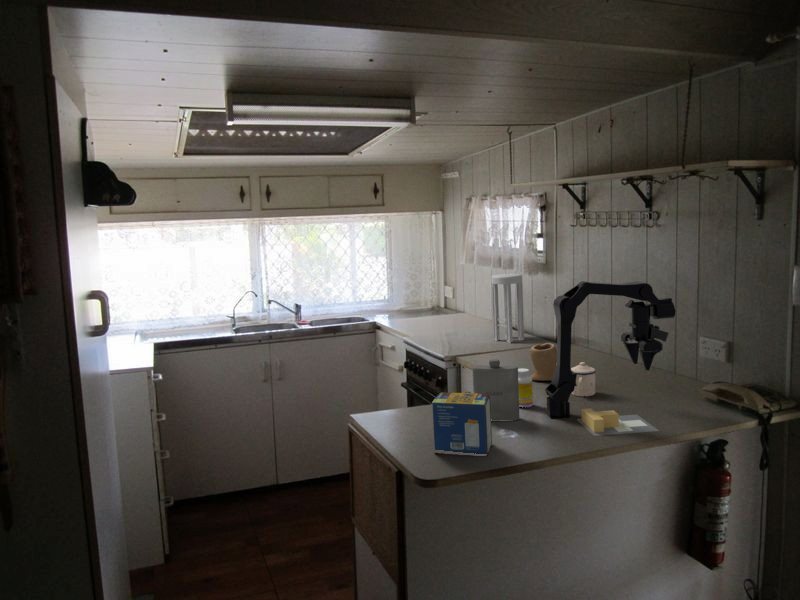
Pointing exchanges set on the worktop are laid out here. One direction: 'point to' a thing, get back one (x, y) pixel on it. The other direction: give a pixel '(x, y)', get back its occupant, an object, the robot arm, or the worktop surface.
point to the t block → (600, 419)
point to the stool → (507, 305)
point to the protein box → (462, 422)
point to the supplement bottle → (525, 388)
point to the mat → (625, 426)
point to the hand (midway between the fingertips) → (641, 367)
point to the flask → (498, 388)
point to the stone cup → (543, 361)
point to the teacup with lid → (584, 380)
